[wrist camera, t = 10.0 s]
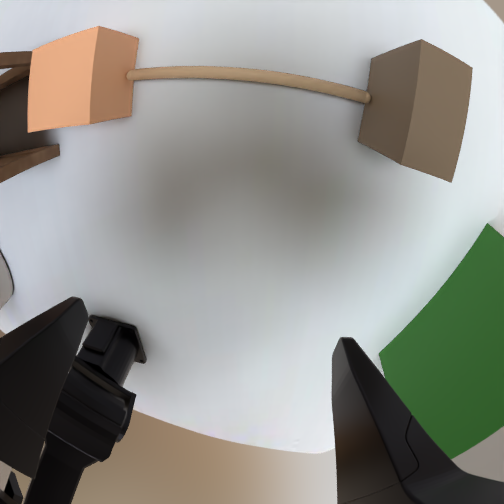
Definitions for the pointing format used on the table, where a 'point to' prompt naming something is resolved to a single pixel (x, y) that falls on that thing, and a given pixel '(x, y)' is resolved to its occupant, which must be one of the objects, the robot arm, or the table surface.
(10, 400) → the robot arm
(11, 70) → the shelf lane
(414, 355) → the hardback book
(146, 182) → the table surface
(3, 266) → the cylinder vase
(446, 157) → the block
